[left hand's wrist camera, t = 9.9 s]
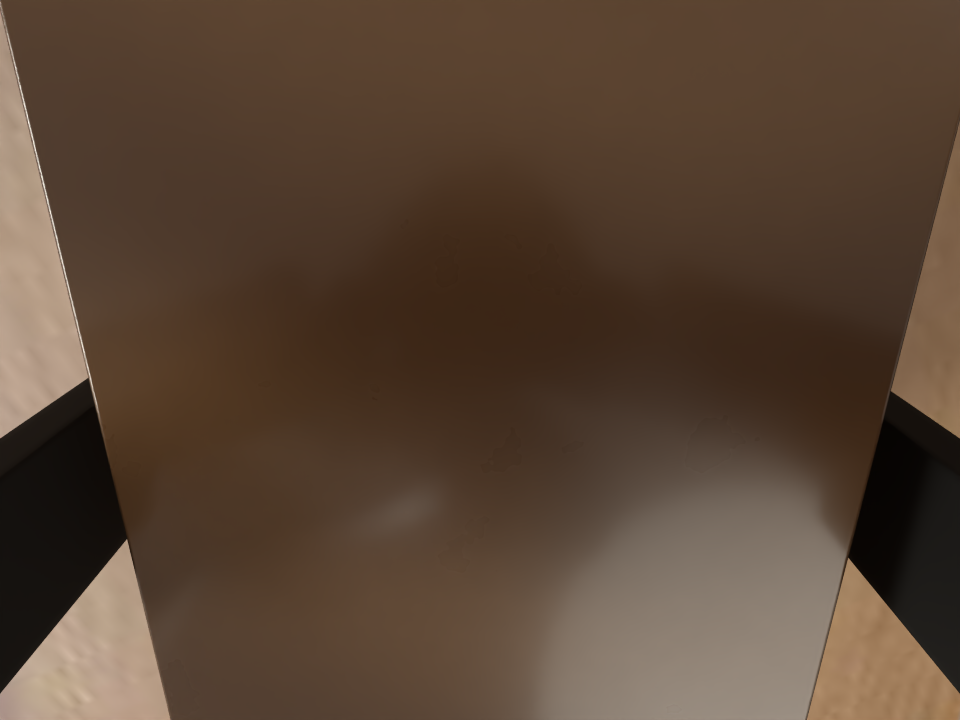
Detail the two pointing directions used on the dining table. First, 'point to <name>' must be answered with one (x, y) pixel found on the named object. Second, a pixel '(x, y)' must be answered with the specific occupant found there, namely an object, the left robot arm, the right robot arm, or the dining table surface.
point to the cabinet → (490, 334)
